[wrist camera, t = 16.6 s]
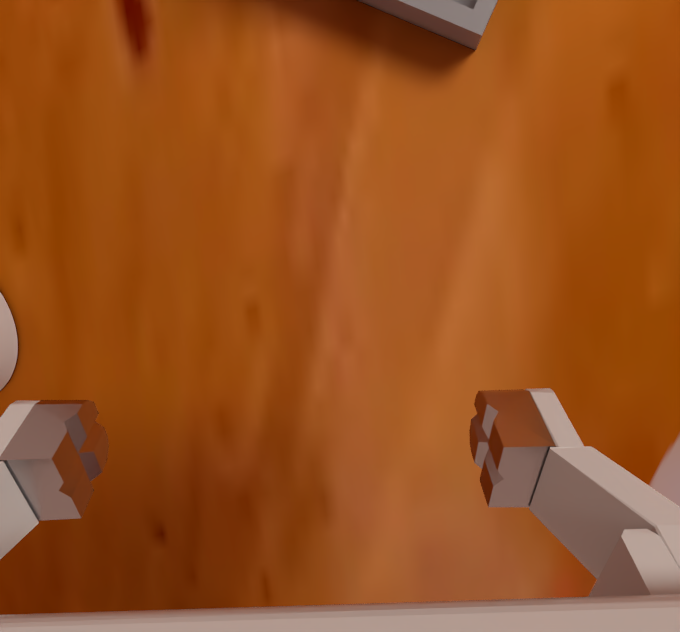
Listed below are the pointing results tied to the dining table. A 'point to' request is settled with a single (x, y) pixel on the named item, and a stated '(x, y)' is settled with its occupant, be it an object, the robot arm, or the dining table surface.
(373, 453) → the dining table surface
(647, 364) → the dining table surface
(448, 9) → the gray compartment tray
